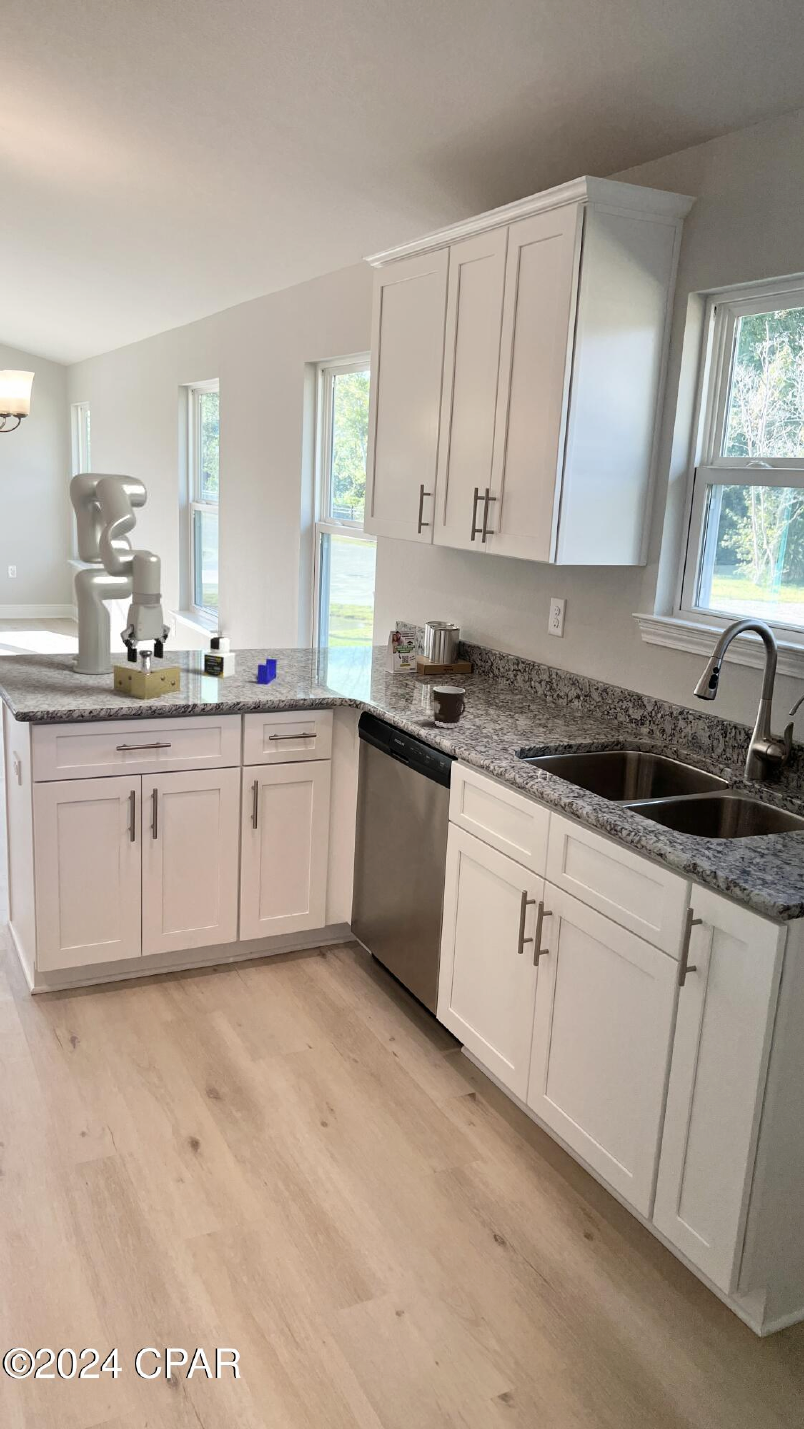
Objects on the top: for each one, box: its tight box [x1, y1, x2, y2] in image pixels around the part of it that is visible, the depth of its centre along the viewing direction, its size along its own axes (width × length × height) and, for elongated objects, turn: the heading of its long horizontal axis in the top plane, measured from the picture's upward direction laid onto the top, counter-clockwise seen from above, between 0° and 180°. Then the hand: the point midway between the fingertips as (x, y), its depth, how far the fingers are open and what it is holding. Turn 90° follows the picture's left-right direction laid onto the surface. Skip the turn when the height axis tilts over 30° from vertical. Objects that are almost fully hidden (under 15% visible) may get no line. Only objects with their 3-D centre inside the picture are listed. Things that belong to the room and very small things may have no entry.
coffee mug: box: [432, 685, 466, 723], centre depth 278 cm, size 12×9×10 cm
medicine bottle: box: [203, 636, 236, 679], centre depth 326 cm, size 7×7×12 cm
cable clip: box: [257, 658, 278, 685], centre depth 324 cm, size 12×4×6 cm, turn 174°
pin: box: [139, 649, 153, 674], centre depth 291 cm, size 3×3×13 cm
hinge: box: [113, 664, 181, 700], centre depth 298 cm, size 16×16×7 cm
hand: (145, 659), depth 290 cm, fingers open, 9 cm apart
